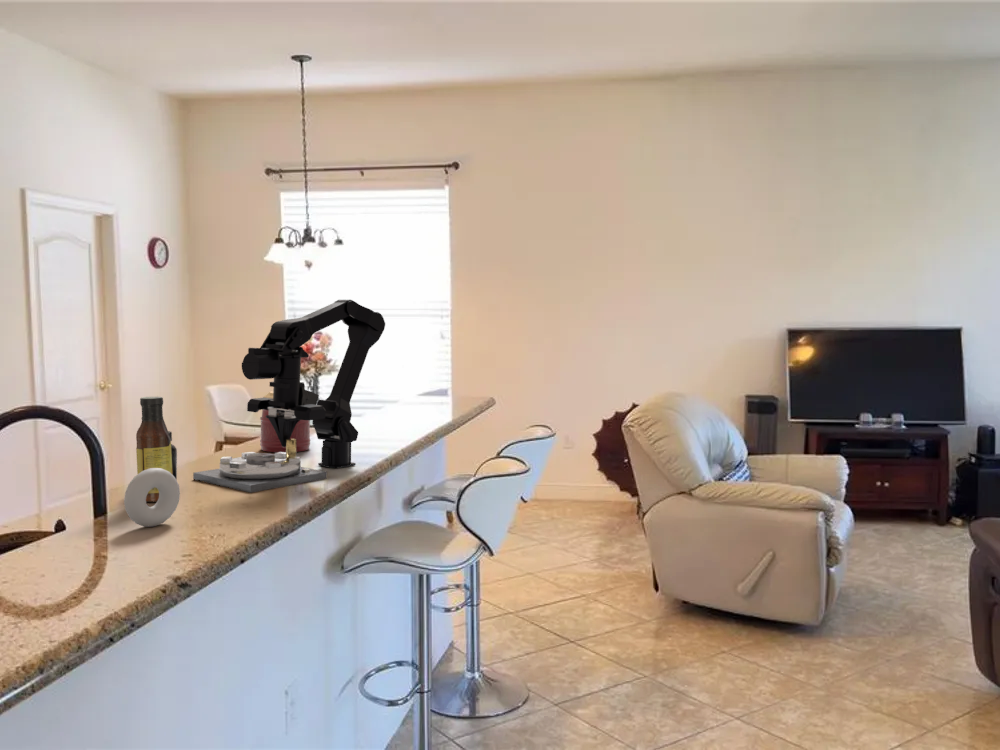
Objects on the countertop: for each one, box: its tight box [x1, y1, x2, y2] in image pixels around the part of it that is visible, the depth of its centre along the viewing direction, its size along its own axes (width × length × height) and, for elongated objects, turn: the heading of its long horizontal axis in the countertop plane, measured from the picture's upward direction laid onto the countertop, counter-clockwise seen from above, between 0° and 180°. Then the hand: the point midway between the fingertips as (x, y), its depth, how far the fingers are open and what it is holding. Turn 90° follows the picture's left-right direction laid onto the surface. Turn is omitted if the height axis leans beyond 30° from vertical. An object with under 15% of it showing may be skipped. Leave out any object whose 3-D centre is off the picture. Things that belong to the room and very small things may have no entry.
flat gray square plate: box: [192, 466, 328, 494], centre depth 184 cm, size 20×20×2 cm
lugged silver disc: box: [219, 439, 302, 479], centre depth 184 cm, size 17×17×6 cm
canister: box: [259, 390, 311, 453], centre depth 223 cm, size 13×13×18 cm
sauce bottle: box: [135, 396, 173, 503], centre depth 161 cm, size 6×6×20 cm
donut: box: [123, 468, 181, 528], centre depth 142 cm, size 10×4×10 cm, turn 148°
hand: (284, 446), depth 189 cm, fingers closed
